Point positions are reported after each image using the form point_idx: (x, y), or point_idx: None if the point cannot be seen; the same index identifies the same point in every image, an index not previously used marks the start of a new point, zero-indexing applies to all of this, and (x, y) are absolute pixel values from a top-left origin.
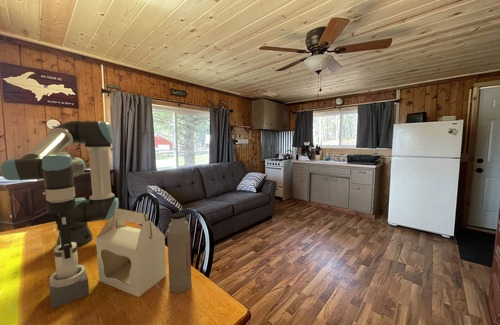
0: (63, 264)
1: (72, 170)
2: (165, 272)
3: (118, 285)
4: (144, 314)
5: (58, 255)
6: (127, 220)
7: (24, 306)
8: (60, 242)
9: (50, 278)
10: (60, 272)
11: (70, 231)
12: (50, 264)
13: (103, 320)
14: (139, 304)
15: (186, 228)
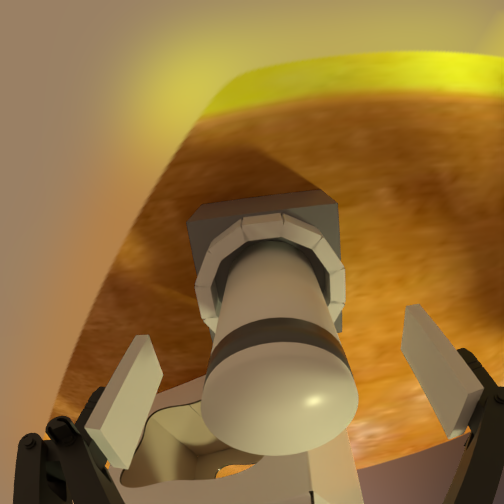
0: (129, 353)
1: None
2: (193, 463)
3: (195, 386)
4: (74, 392)
5: (215, 352)
6: None
7: (284, 114)
8: (438, 351)
9: (264, 225)
10: (229, 286)
11: (465, 443)
12: None
13: (81, 331)
14: None
15: None
